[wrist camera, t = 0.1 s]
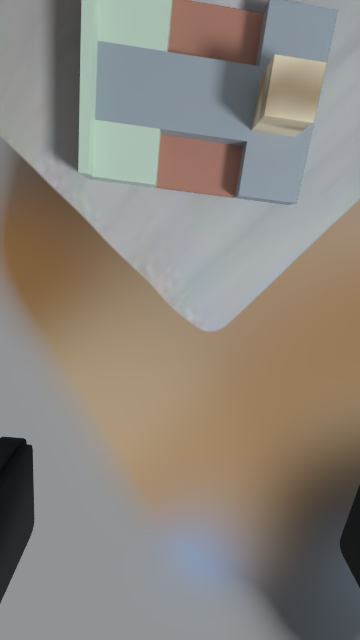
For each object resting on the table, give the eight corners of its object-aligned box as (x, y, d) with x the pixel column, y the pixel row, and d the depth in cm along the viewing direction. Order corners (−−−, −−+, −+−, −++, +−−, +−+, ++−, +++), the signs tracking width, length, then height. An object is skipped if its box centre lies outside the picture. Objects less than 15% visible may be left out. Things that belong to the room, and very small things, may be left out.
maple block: (259, 78, 30) (274, 54, 26) (304, 85, 30) (326, 62, 26) (251, 130, 31) (264, 115, 27) (294, 136, 32) (313, 122, 27)
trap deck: (95, -13, 30) (82, -53, 25) (325, 26, 31) (350, -6, 27) (89, 178, 35) (78, 172, 30) (288, 204, 36) (304, 201, 32)
